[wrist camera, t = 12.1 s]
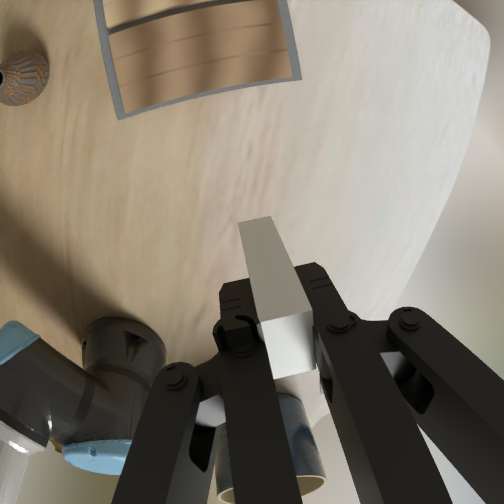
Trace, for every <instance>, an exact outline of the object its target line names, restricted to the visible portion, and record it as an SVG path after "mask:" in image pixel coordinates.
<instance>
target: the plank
mask: <svg viewBox="0 0 504 504" xmlns="http://www.w3.org/2000/svg"><path fill="white" fill-rule="evenodd" d="M102 1H103V7H104V14H105V20H106V26H107V27H108V28H110V29H112V28H115V27H118V26H120V25H123V24H126V23H129V22H132V21H135V20H138V19H141V18H144V17H148V16H151V15H155V14H158V13H162V12H165V11H169V10H173V9H177V8H181V7H185V6H190V5H195V4H199V3H204V2H210V1H215V0H102Z"/></svg>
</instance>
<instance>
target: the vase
mask: <svg viewBox="0 0 504 504" xmlns="http://www.w3.org/2000/svg"><path fill="white" fill-rule="evenodd" d="M48 79H49V66H48V63H47V61H46V60H45V58H44V57H43V56H42V55H40V54H39V53H37V52H33V51H19V52H16V53H14V54H12V55H10V56H8V57H7V58H6V59H4V60H3V61H2V62H1V63H0V102H1V103H3V104H5V105H9V106H20V105H24V104H27V103H29V102H31V101H33V100H34V99H35V98H37V97H38V96H39V95H40V94H41V93H42V91H43V90H44V88H45V87H46V85H47V82H48Z"/></svg>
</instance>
